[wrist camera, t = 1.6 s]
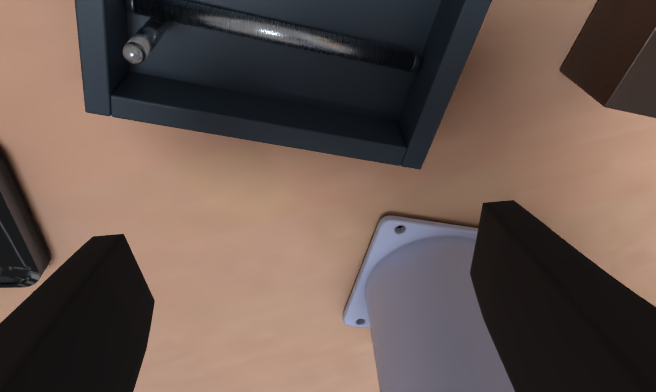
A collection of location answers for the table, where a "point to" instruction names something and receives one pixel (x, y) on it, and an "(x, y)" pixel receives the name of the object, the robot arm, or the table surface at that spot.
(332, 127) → the drying rack
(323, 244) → the table surface
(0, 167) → the phone
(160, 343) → the table surface
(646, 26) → the knife
